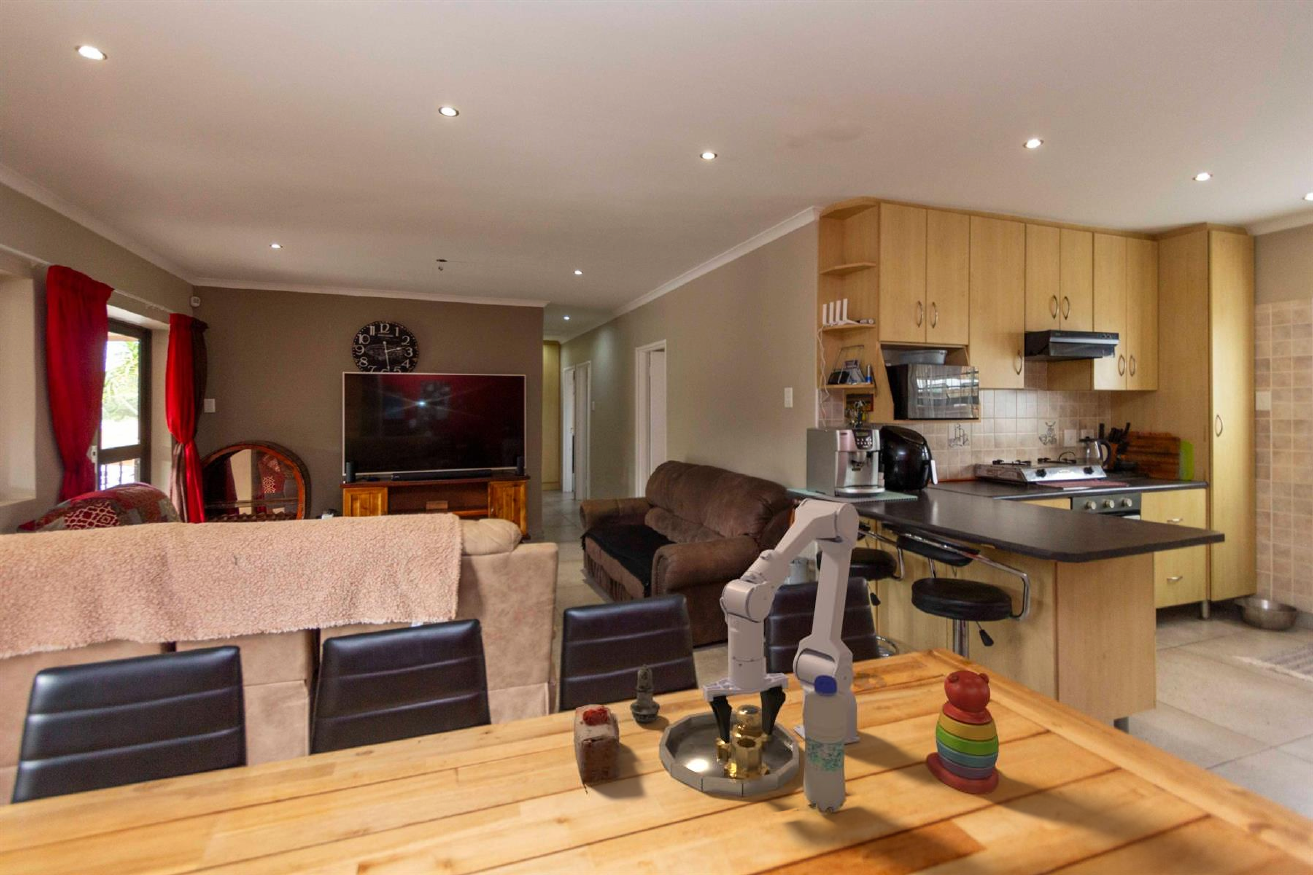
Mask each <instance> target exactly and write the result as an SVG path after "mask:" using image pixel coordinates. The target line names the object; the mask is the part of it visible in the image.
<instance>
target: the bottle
mask: <svg viewBox="0 0 1313 875" xmlns="http://www.w3.org/2000/svg"><path fill="white" fill-rule="evenodd" d="M847 721H848V720H847V714H846V706H845V700H844V698H843V697H842V696H841V695H840V694H838V693H837V682H836V680H835V679H834V678H833V677H831V676H828V675H820V676H817V677H816V678H815V681H814V690H813V691H810V692H808V693H807V694H806V696H805V702H804V709H803V708H802V725H803V726H804V728H805V739H804V771H803V785H802V786H803V788H802V789H803V794H804V795H805V798H806V800H807V802H808V803H809V806H810V808H812V809H816V807H817V806H818V808H819V810H820V812H821V813H826V811H827V809H828V808H830V811H831V812H832V813H836V812H837V811H839V809H840V808H841V807H843V805H844V803H845V801H846V775H845V774H846V773H845V745H846V744H845V732H846V730H847V726H846V725H847Z"/></svg>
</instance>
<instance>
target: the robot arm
mask: <svg viewBox="0 0 1313 875" xmlns="http://www.w3.org/2000/svg"><path fill="white" fill-rule="evenodd" d="M794 512H795V513H794V522H793V523H792V524H791V526H790V527H789V528H788V530H787V531H786V533H785V534H784V536H783V537H782V539H781V540H780V541H779V542H778V543H777V545H776V546H775V548H774V549H766V550H763V551H762V552H761V553H760V554H759V556H758V558H756V560H755V561H754V562H753V564H751V566H749V567H748V569H747V570H746V571H745V572H744V573H743V575H742V576H740V578H739V579H738V578H737V579H733V580H731V581H729V582H728V583H726V585H725V586H724V588H723V590H722V593H721V597H720V598H719V604H720V607H721V610H722V611H723V612H724V622H726V624H727V639H728V641H727V642H728V643H727V644H728V645H727V652H728V653H727V656H728V658H727V659H728V661H727V663H728V664H727V665H728V669H727V671H728V674H727V676H728V677H725V678H723V679H720V680H717V681H714V682H712V683H708V684H703V685H702V697H703V699H704V700H705V701H706V702H707V703H708V704H709V705H710V708H711V709H712V710H711V711H713V712H714V715H715V718H716V721H717V724H718V728H719V732H720V738H721V739H722V741H723V742H724V743H725V744H728V743H729V742H730V718H731V712H732V711H733V707H732V706H731V705H730V704H729V700H728V699H727V698H728V697H734V696H741V695H756V694H759V696H760V704H761V709H762V730H763V731H764V732H765V733H766V734H767V735H768V736H770V735H772V731H773V727H774V724H775V722H776V720H777V717H778V714H779V712H780V710H781V708H782V707H783V705H784V703H785V702H786V700H787V694H786V692H784V691H783V690H788V689H789V677H788V676H787V675H786V674H784V673H783V672H780V673H765V671H764V670H765V669H764V668H765V666H764V664H765V663H764V662H765V658H764V656H765V655H764V654H765V651H764V648H765V646H764V640H765V638H764V630H765V629H764V627H765V626H764V620H765V619H766V618H767V617H768V615H769V614H770V612H771V608H772V605H773V604H772V603H773V601H775V597H776V595H775V594H776V593H777V591H778V590H779V588H780V587H781V586H782V584H784V583H785V581H786V580H787V578H788V577H789V576H790V575H791V573H792V566H791V563H792V562H793V561H794V560H795V559H796V558H797V557H798V556H799V555H800V554H801V553H802V552H803V551H804V550H805V549H806V548H807V547H808V546H809V545H810V544H811V543H812V542H816V543H817V544H818V546H819V547H820V549H821V551H822V553H821V559H820V560H821V562H820V569H819V576H818V577H819V578H818V584H817V591H816V600H815V608H814V615H813V620H812V622H813V623H812V627H811V628H812V629H811V634H810V635H808V636H806V637H804V638H803V639H801V640H800V641H799V642H798V649H797V652H796V654H795V656H794V659H793V664H792V669H793V674H794V677H795V679H796V680H798V681H799V687H801V688H802V710H803V709H804V702H805V696H806V694H807V693H808V692H810V691H813V690H814V681H815V678H816V677H817V676H820V675H828V676H831V677H833V678H834V679H835V680H836V682H837V693H838V694H840V695H841V696H842V697H843V698H844V700H845V706H846V714H847V720H848V721H847V725H846V726H847V730H846V732H845V745H847V744H852V743H857V742H860V737H859V736H858V702H857V698H856V695H855V693H854V692H853V690H852V688H851V687H852V684H853V681H854V669H853V655H854V654H853V652H852V651H851V650H850V649H849V647H848V646H847V645H846V644H845V643H844V641H843V640H842V639H841V637H842V631H843V630H842V629H843V620H844V614H845V613H844V612H845V605H846V597H847V590H848V589H847V588H848V583H849V581H848V580H849V574H850V567H851V559H852V553H853V552H852V551H853V550H854V549H856V547H857V541H858V535H859V525H860V518H861V517H860V516H859V512H858V511H857V509H856V507H855V506H854V505H853V504H852V503H850V502H838V501H837V502H836V501H827V500H820V499H819V500H817V499H813V498H810V497H807V498H805V499H803V500H802V501H801V502H800V504H799V506H798V507H796V508H795V510H794ZM793 730H794V731H795V733H797V734H798V735H799V736H800V737H801V738H802V739H803V740H805V728H804V726H803V724H801V725H796V726H795V725H794V726H793Z"/></svg>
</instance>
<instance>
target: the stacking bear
mask: <svg viewBox="0 0 1313 875" xmlns="http://www.w3.org/2000/svg"><path fill="white" fill-rule="evenodd" d="M989 683H990V677H989V675H988V674H986V673H984V672H981V673H979V674H978V673H976V672H974V671H971V670H966V669H965V670H956V671H953V672H951V673H949V674H948V676H947V677H946V678H945V680H944V683H943V689H944V692H945V695H946V697H947V701H946V702H944V703H943V705H942V709H941V710H940V712H939V715H938V720H937V722H936V727H935V732H934V733H935V744H936V748H937V751H935V752H933V751H932V752H930V753H928V755H927V756H926V758H925V764H926V766H927V768H928V769H929V770H930V772H931V773H932V775H934V776H935V778H937V779H938V780H940V781H941V782H943V783H944V784H946V785H947V786H949V787H950V788H953V789H955V790H958V791H960V792H965V793H969V794H976V795H977V794H979V795H980V794H981V795H982V794H987V793H991V792H993V791H995V789H997V787H998V785H999V772H998V768H997V767H996V763H997V761H998V758H999V753H1000V751H999V750H1000V749H999V747H1000V742H999V735H998V731H997V725H996V721H995V718H993V716H992V714H991V712H990V711H989V709H988V708H987V706H988V705H989V702H990V699H991V689H990V686H989Z"/></svg>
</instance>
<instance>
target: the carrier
mask: <svg viewBox="0 0 1313 875" xmlns="http://www.w3.org/2000/svg"><path fill="white" fill-rule="evenodd" d="M744 735H747V736H751V737H755V738H757V739H758V740H759V741H760V742H761V743H762V760H763V761H764V764H765V765H766V766H767V767H769V768H770V774H769V775H764V776H759V777H754V778H749V779H744V780H736V779H728V777H727V776H726V775H724V765H726V764H727V763H728V759H729V758H731V742H732V741H733V739H734V738H735V737H739V736H744ZM799 745H800V744H799V740H798V738H797V737H795V736H794V735H793V734H792V733H791V732H790V731H789V730H788V729H787V728H785V727H784V726H783V725H782V724H781V723H779V722H777V721H775V724H774V727H773V731H772V735H770V736H768V735H767V734H766V733H765V732H764V731H763V730H762V707H759V706H758V705H755V704H742V705H739V706H738V707H737V709H736V711H733V710H732V712H731V718H730V742H729V743H728V744H725V743H724V742H723V741H722V739H721V738H720V732H719V728H718V724H717V721H716V718H715V715H714V712H713V710H710V711H704V712H700V713H698V712H697V713H691V714H687V715H685V716H683V717H682V718H680V719H678V720H677V721H675V722H673V723H671V724H669V725H667V726H666V727H665V729H664V731H663V734H662V736H661V739H660V741H659V743H658V758H659V759H660V762H661V764H662V766H663V768H664V770H666V772H667V773H668V774H669V776H671V778H673V779H675V780H677V781H678V782H680V784H681V783H682V785H684V786H688V787H689V788H692V789H694V790H697V791H699V792H702V793H707V794H712V795H716V796H717V795H719V796H726V797H727V796H728V797H729V796H730V797H747V796H756V795H762V794H766V793H769V792H772V791H776V790H778V789H781V788H782V787H783V786H785V785H787V784H788V783H789V782H792V780H793V779H794V778H795V776H796V775H797V774H798V773H799V772H800V766H801V764H800V763H801V760H800V759H801V758H800V750H799V747H800V746H799Z"/></svg>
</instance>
